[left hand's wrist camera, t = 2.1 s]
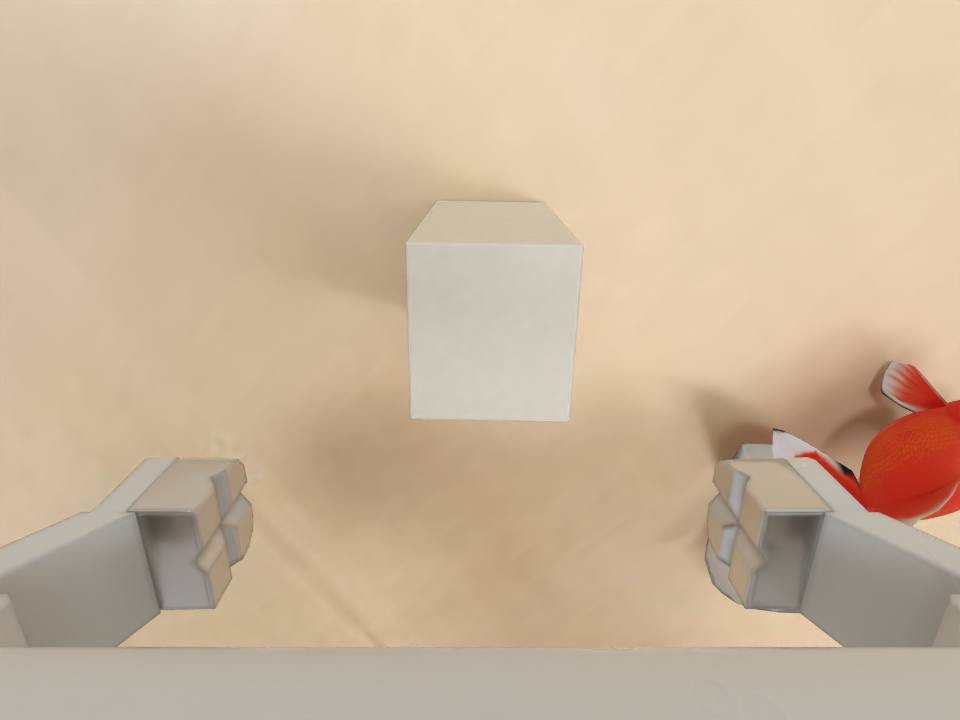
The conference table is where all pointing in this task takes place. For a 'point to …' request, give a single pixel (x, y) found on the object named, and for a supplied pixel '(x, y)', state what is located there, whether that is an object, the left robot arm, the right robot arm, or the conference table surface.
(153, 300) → the conference table surface
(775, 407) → the conference table surface
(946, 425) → the fish
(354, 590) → the conference table surface
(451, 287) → the brick
